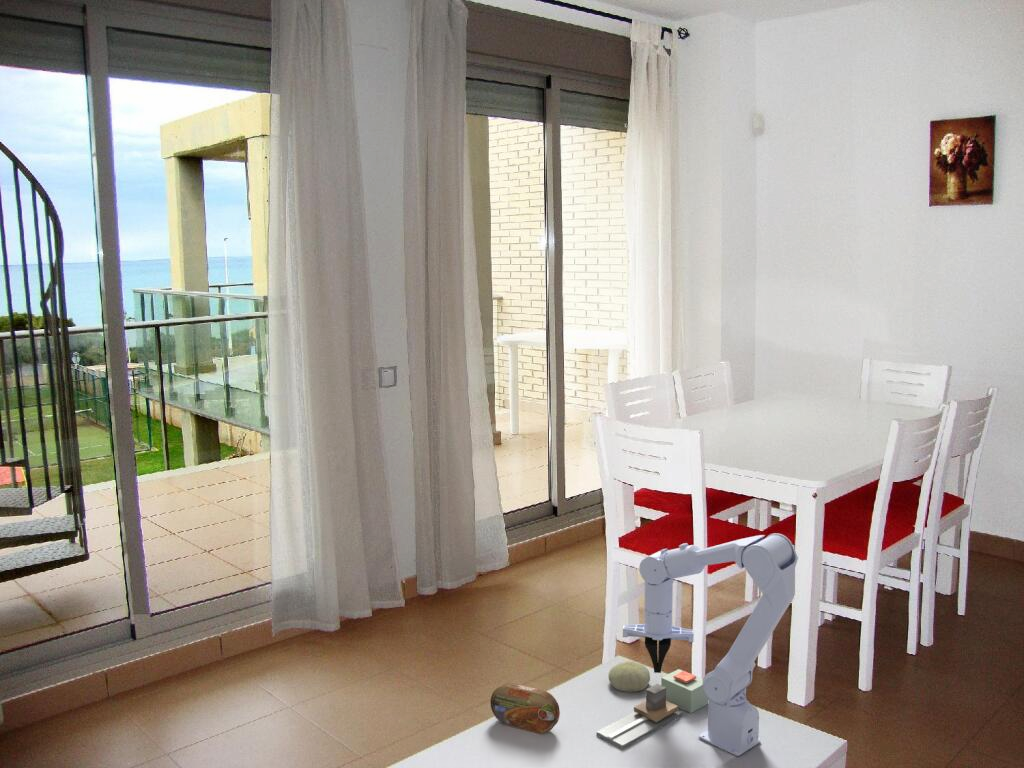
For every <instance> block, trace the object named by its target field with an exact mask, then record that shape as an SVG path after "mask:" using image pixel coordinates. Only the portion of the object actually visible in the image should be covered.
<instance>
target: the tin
mask: <svg viewBox="0 0 1024 768" xmlns="http://www.w3.org/2000/svg"><path fill="white" fill-rule="evenodd" d="M490 709H491V711H492V714H493V716H494V717H495V718H496V719H497V720H498V722H500V723H501V724H503V725H504V726H508V727H512V728H516V729H520V730H524V731H528V732H531V733H536V734H539V735H542V734H547V733H549V732H550V731H552V729H554V727H555V726H556V725H557V723H559V720H560V717H561V716H560V714H561V712H560V705H559V703H558V701H557V699H556V698H555V697H554V696H553V694H551V693H550V692H549V691H547V690H543V689H540V688H536V687H535V688H534V687H531V686H526V685H522V684H517V683H512V682H507V683H505V684H502V685H501V686H499V687H497V688H496V689H494V691H493V692H492V693H491V695H490Z"/></svg>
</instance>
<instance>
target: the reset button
mask: <svg viewBox="0 0 1024 768" xmlns="http://www.w3.org/2000/svg"><path fill="white" fill-rule="evenodd" d="M696 676H697V675H694V674H692V673H690V672H687V671H685V670H682V672H680V673H678V674H676V675H674V679H677V680H678V681H680V682H682V683H684V684H688V683H690V682H692V681H693V680H694V679H696Z"/></svg>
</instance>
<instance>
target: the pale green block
mask: <svg viewBox="0 0 1024 768" xmlns="http://www.w3.org/2000/svg"><path fill="white" fill-rule="evenodd" d="M682 671H683V670H682V669H681V668H680V669H679V668H678V669H676V670H674V671H672V672H670V673H668V674H666V675H664V676H662V677H661V681H660V682H661V683H660V685H661V686H663V687H666V701H668V702H670V703H672V704H675V705H677V706H678V709H681V710H682V711H686V712H688V713H690V714H692V713H694V712H695V711H697V710H699V709H701V708H702V707H704V706H706V705H708V704H709V700H708V697H707V695H706V694H705V692H704V689H703V678H701V677H699V676H697V675H695V676H696V679H694V680H693V681H692V682H690V683H688V684H684V683H682V682H680V681H678V680H677V679H674V675H676V674H678V673H680V672H682Z"/></svg>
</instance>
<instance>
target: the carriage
mask: <svg viewBox="0 0 1024 768" xmlns="http://www.w3.org/2000/svg"><path fill="white" fill-rule="evenodd" d="M678 710H679V707H678V706H677V705H675V704H672V703H670V702H668V701H666V687H663V686H661V684H659V683H656V684H654V685H652V686H650V687H647V688H646V689H645V700H644V701H642V702H641V703H638V704H637V705H635V706H634V707H633V712H636V713H638V714H640V715H642V716H644V717H646V718H648V719H651V720H653V721H655V722H658V721H660V720H661V719H663V718H665V717H667V716H669V715H671V714H672V713H674V712H676V711H678Z"/></svg>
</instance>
